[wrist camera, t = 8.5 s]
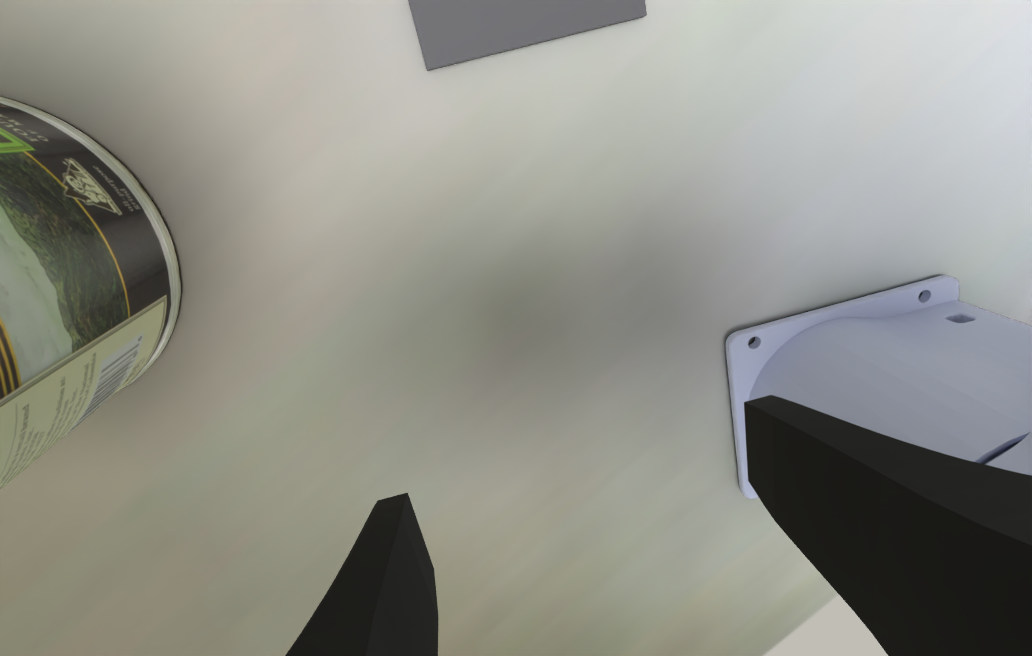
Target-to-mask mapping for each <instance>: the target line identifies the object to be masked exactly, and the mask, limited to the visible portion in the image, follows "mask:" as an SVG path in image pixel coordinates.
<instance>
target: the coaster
mask: <svg viewBox="0 0 1032 656" xmlns="http://www.w3.org/2000/svg"><path fill="white" fill-rule="evenodd" d="M408 1H409V5H410V9H411V12H412V16H413V20H414V24H415V27H416V31H417V35H418V39H419V42H420V46H421V50H422V54H423V57H424V61H425V65H426V69H427V71H429V70H433V69H437V68H441V67H445V66H449V65H453V64H457V63H461V62H465V61H469V60H473V59H477V58H481V57H485V56H489V55H493V54H497V53H501V52H505V51H509V50H513V49H517V48H521V47H525V46H529V45H533V44H537V43H541V42H545V41H549V40H553V39H557V38H561V37H565V36H569V35H573V34H577V33H581V32H585V31H589V30H593V29H597V28H601V27H605V26H609V25H613V24H617V23H622V22H626V21H630V20H634V19H638V18H642V17H644V16H646V15H647V14H646V6H645V0H408Z"/></svg>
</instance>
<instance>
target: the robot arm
mask: <svg viewBox="0 0 1032 656" xmlns="http://www.w3.org/2000/svg"><path fill="white" fill-rule="evenodd" d="M922 291H923V293H922V295H921V297H920V298H918V297H919V294H920V293H921V292H922ZM754 336H755V337H756V338H755V341H754V342H753V344H751V345H748V341H749V340H750V338H752V337H754ZM726 356H727V366H728V376H729V386H730V396H731V406H732V416H733V425H734V435H735V445H736V455H737V465H738V475H739V485H740V490H741V492H742V493H743V495H744V496H745V497H746V498H748V499H756V498H760V500H761V501H762V503H763V504H764V506H765V507H766V509H767V510H768V511H769V513H770V514H771V516H772V517H773V519H774V520H775V521H776V523H777V524H778V525H779V526H780V527H781V529H782V530H783V531H784V532H785V533H786V534H787V536H788V537H789V538H790V539H791V540H792V541H793V542H794V544H795V545H796V546H797V547H798V548H799V549H800V551H801V552H802V553H803V554H804V555H805V556H806V557H807V559H808V560H809V561H810V562H811V563H812V564H813V565H814V566H815V568H816V569H817V570H818V571H819V572H820V573H821V574H822V576H823V577H824V578H825V579H826V580H827V581H828V582H829V583H830V585H831V586H832V587H833V588H834V589H835V590H836V591H837V593H838V594H839V595H840V596H841V597H842V598H843V599H844V600H845V602H846V603H847V604H848V605H849V606H850V607H851V608H852V610H853V611H854V612H855V613H856V614H857V616H858V617H859V618H860V619H861V620H862V622H863V623H864V624H865V625H866V626H867V628H868V629H869V630H870V631H871V633H872V634H873V635H874V637H875V638H876V639H877V641H878V642H879V643H880V645H881V646H882V648H883V649H884V650H885V652H886V653H887V654H888V656H1032V326H1030V325H1027V324H1024V323H1022V322H1019V321H1016V320H1013V319H1010V318H1007V317H1004V316H1002V315H999V314H996V313H993V312H990V311H987V310H984V309H982V308H979V307H976V306H973V305H970V304H967V303H964V302H961V301H959V281H958V280H957V279H956V278H954V277H951V276H947V275H942V276H938V277H934V278H931V279H927V280H923V281H920V282H916V283H912V284H909V285H905V286H901V287H898V288H894V289H890V290H887V291H883V292H879V293H876V294H872V295H868V296H864V297H861V298H857V299H853V300H850V301H846V302H842V303H839V304H835V305H831V306H828V307H824V308H820V309H817V310H813V311H809V312H806V313H802V314H798V315H795V316H791V317H787V318H783V319H780V320H776V321H772V322H769V323H765V324H761V325H758V326H754V327H750V328H747V329H743V330H739V331H736V332H734V333H732V334H731V335H730V336H729V337H728V338H727V340H726ZM285 656H438V608H437V596H436V586H435V576H434V568H433V565H432V562H431V559H430V556H429V553H428V550H427V548H426V545H425V542H424V539H423V536H422V533H421V530H420V527H419V524H418V522H417V519H416V516H415V513H414V510H413V507H412V504H411V501H410V498H409V496H408V493H404V494H401V495H397V496H393V497H390V498H386V499H382V500H378V501H377V503H376V504H375V506H374V508H373V509H372V511H371V513H370V515H369V517H368V519H367V521H366V523H365V525H364V527H363V529H362V531H361V532H360V534H359V536H358V538H357V540H356V542H355V544H354V546H353V548H352V549H351V551H350V553H349V555H348V557H347V558H346V560H345V562H344V564H343V565H342V567H341V569H340V571H339V573H338V574H337V576H336V578H335V580H334V581H333V583H332V585H331V587H330V588H329V590H328V592H327V593H326V595H325V596H324V598H323V600H322V601H321V603H320V604H319V606H318V607H317V609H316V611H315V612H314V614H313V615H312V617H311V618H310V620H309V622H308V623H307V625H306V626H305V628H304V629H303V631H302V632H301V634H300V635H299V637H298V638H297V640H296V641H295V643H294V644H293V645H292V647H291V648H290V650H289V651H288V653H287V654H286V655H285Z"/></svg>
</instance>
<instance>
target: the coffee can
mask: <svg viewBox="0 0 1032 656" xmlns="http://www.w3.org/2000/svg"><path fill="white" fill-rule="evenodd" d="M180 296H181V284H180V277H179V267H178V261H177V257H176V253H175V250H174V246H173V243H172V240H171V237H170V234H169V232H168V230H167V227H166V225H165V223H164V221H163V219H162V217H161V216H160V214H159V212H158V210H157V208H156V207H155V205H154V203H153V202H152V200H151V199H150V197H149V196H148V195H147V193H146V192H145V191H144V189H143V188H142V187H141V185H140V184H139V183H138V181H137V180H136V179H135V178H134V176H133V175H132V174H131V173H130V172H129V171H128V170H127V169H126V168H125V167H124V166H123V165H122V164H121V163H120V162H119V161H118V160H117V159H116V158H115V157H113V156H112V155H111V154H110V153H109V152H107V151H106V150H105V149H104V148H103V147H101V146H100V145H99V144H98V143H96V142H95V141H94V140H92V139H91V138H90V137H88V136H87V135H86V134H84V133H82V132H81V131H79V130H77V129H76V128H74V127H72V126H71V125H69V124H68V123H66V122H64V121H62V120H60V119H58V118H56V117H54V116H52V115H50V114H47V113H45V112H43V111H41V110H39V109H36V108H33V107H31V106H28V105H25V104H23V103H20V102H17V101H14V100H10V99H7V98H4V97H1V96H0V490H1V489H2V488H3V487H4V486H5V485H7V484H8V483H9V482H10V481H11V480H13V479H14V478H15V477H16V476H17V475H19V474H20V473H21V472H22V471H23V470H24V469H26V468H27V467H28V466H29V465H30V464H32V463H33V462H34V461H35V460H36V459H37V458H39V457H40V456H41V455H42V454H43V453H45V452H46V451H47V450H48V449H49V448H51V447H52V446H53V445H54V444H55V443H57V442H58V441H59V440H60V439H62V438H63V437H64V436H65V435H66V434H68V433H69V432H70V431H71V430H72V429H74V428H75V427H76V426H77V425H78V424H79V423H81V422H82V421H83V420H84V419H85V418H87V417H88V416H89V415H90V414H91V413H92V412H94V411H95V410H96V409H97V408H98V407H100V406H101V405H102V404H103V403H104V402H106V401H107V400H108V399H109V398H110V397H112V396H113V395H114V394H115V393H116V392H118V391H119V390H121V389H123V388H125V387H126V386H128V385H130V384H131V383H133V382H134V381H135V380H136V379H137V378H138V377H140V376H141V375H142V374H143V373H144V372H145V371H146V370H147V369H148V368H149V367H150V366H151V365H152V364H153V363H154V362H155V360H156V359H157V358H158V357H159V355H160V354H161V352H162V351H163V349H164V348H165V346H166V344H167V342H168V340H169V338H170V336H171V334H172V332H173V329H174V326H175V323H176V319H177V315H178V310H179V302H180Z"/></svg>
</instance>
